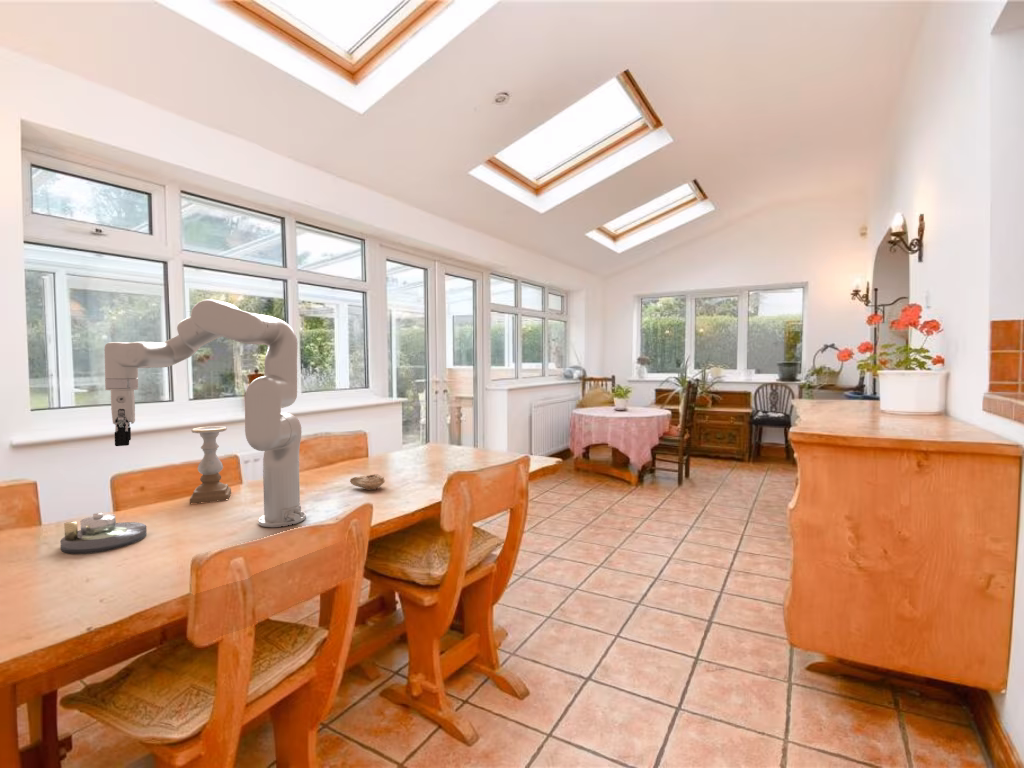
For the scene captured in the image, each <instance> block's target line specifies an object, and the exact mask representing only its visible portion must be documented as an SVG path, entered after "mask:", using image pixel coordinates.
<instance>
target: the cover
mask: <svg viewBox="0 0 1024 768" xmlns="http://www.w3.org/2000/svg"><path fill="white" fill-rule="evenodd" d="M116 523H117V522H116V514H112V513H107V514H104V513H103V512H96V513H93V514H92V516H88V517H85V518H83V519H81V520H80V530H81V533H82V534H96V533H102V532H106V531H109V530H112V529H114V528H115V527H116Z"/></svg>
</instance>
